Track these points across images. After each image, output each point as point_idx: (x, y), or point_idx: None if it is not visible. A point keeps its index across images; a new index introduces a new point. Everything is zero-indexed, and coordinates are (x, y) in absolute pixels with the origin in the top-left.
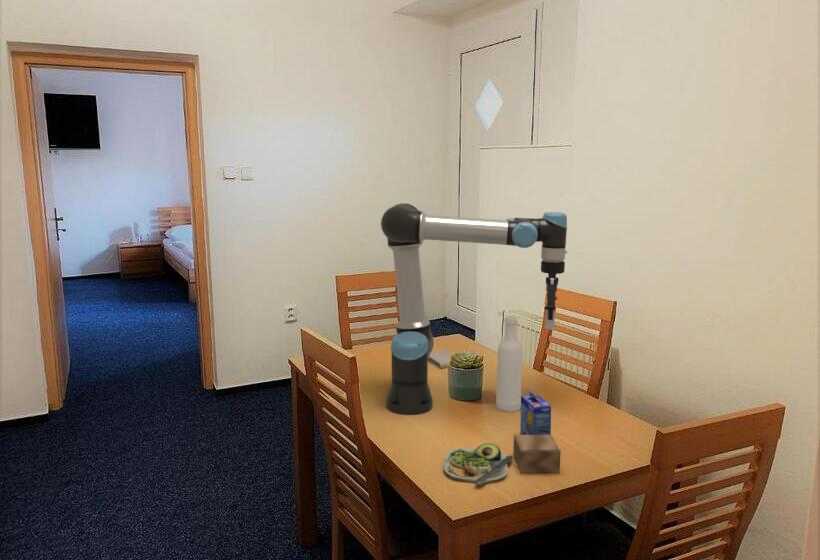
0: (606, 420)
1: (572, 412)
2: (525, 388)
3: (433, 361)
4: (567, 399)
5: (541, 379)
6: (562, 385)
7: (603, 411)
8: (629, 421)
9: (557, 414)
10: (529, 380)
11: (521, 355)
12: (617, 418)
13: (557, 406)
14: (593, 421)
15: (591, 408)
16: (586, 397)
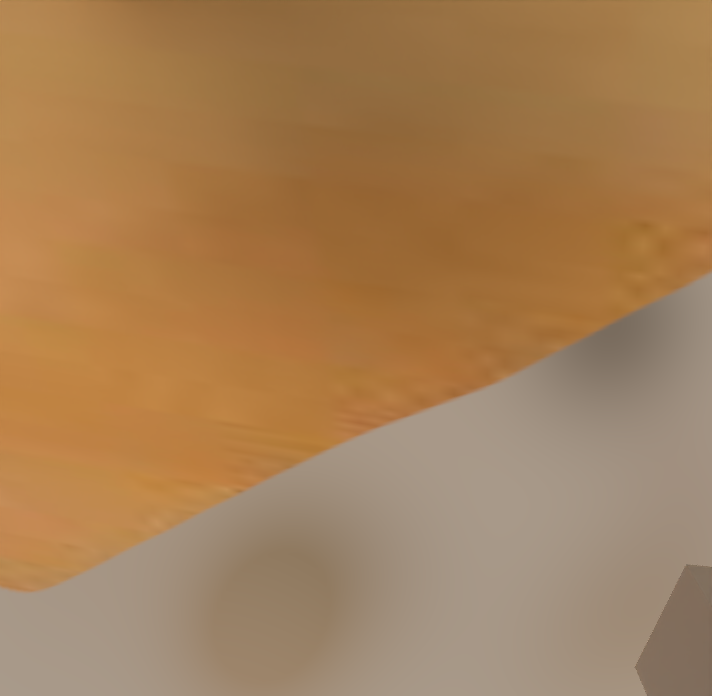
0: (56, 453)
1: (125, 316)
2: (528, 73)
3: None
4: (330, 321)
5: (705, 213)
6: (574, 328)
7: (176, 462)
8: (74, 538)
9: (71, 229)
10: (697, 123)
11: None
12: (97, 501)
13: (204, 248)
14: (23, 396)
15: (208, 417)
16: (372, 421)
